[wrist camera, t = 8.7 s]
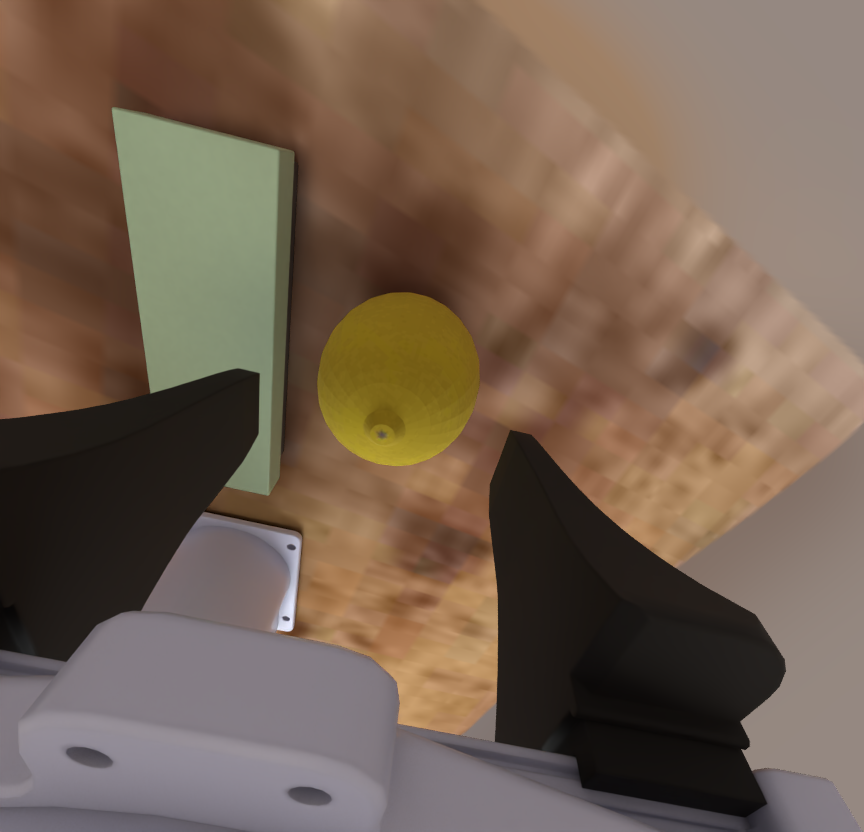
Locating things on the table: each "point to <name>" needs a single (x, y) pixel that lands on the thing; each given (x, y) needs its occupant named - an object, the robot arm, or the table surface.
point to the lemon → (398, 379)
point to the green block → (213, 263)
